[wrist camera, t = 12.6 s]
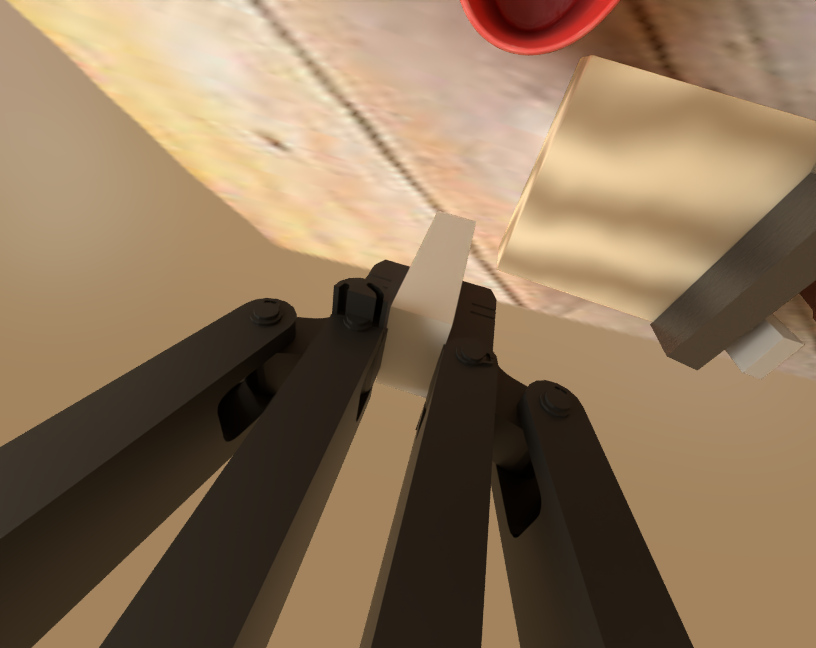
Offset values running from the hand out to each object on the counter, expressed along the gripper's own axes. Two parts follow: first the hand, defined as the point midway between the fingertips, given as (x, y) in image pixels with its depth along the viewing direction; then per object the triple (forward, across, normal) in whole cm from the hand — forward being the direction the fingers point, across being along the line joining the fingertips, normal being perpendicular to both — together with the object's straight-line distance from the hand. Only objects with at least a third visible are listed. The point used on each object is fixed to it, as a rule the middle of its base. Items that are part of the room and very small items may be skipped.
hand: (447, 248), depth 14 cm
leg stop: (+20, -27, +9) cm, 35 cm away
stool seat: (+27, -17, +2) cm, 32 cm away
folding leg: (+20, -24, +3) cm, 31 cm away
